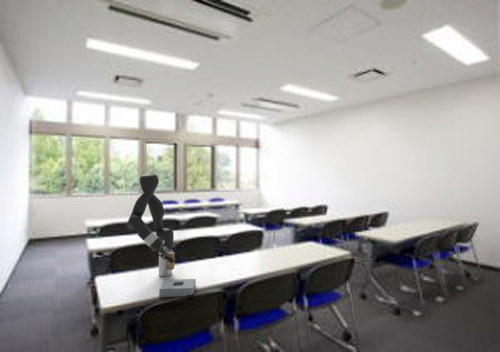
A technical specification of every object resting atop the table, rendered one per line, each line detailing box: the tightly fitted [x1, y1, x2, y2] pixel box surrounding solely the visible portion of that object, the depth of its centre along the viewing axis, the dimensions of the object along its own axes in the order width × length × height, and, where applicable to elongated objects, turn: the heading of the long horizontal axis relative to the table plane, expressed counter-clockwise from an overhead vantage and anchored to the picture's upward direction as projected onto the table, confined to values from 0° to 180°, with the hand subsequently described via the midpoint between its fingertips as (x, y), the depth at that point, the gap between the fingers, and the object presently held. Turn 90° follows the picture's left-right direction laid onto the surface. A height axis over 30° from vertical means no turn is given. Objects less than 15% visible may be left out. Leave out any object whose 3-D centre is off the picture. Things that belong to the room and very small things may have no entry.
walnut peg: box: [166, 251, 176, 271], centre depth 163 cm, size 4×4×10 cm
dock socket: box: [158, 278, 197, 298], centre depth 164 cm, size 15×19×4 cm
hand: (173, 260), depth 163 cm, fingers closed on walnut peg, 4 cm apart
